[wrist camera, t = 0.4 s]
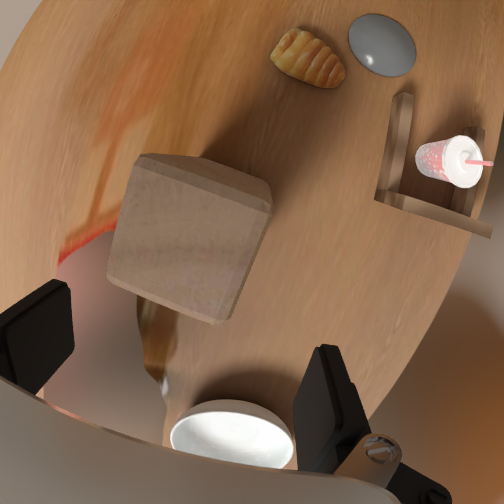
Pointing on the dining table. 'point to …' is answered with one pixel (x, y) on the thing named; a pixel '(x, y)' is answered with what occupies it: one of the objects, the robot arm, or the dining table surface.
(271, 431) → the serving bowl
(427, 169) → the beverage cup
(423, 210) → the rack
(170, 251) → the block
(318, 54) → the pastry
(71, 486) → the robot arm
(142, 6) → the dining table surface
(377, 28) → the coaster
